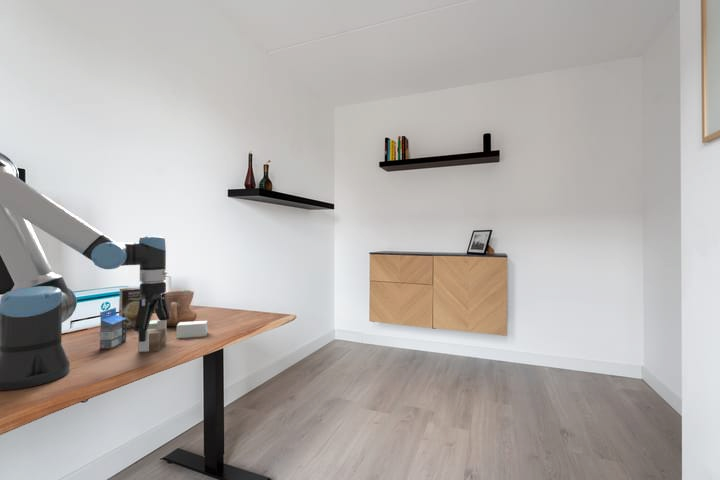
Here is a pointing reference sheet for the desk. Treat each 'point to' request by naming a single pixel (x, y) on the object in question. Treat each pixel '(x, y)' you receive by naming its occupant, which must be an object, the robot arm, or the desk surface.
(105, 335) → the label tape cartridge
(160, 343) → the walnut cube
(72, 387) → the desk surface
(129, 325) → the coffee box
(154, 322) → the sage cube
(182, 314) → the ceramic jug
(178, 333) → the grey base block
